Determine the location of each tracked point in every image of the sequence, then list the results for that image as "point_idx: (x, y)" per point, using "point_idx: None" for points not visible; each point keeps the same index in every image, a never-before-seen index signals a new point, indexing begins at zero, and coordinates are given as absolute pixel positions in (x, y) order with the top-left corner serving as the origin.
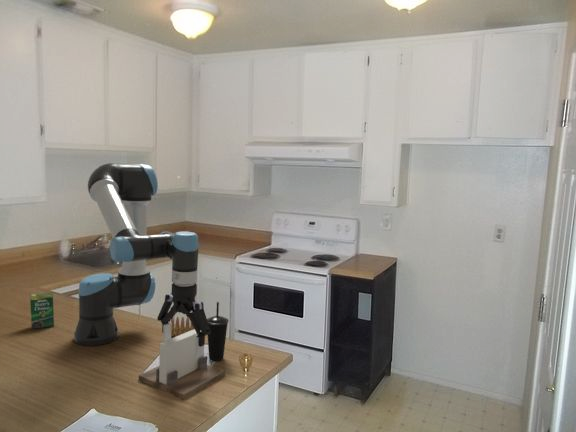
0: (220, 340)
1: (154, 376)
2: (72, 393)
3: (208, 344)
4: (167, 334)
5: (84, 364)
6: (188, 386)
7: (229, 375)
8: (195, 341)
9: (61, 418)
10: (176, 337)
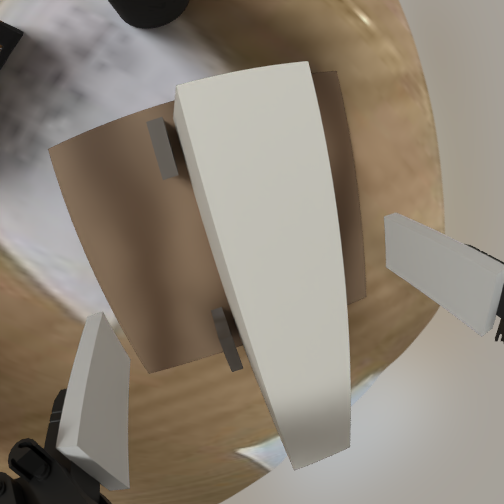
0: None
1: (189, 337)
2: (148, 465)
3: (127, 2)
4: (113, 394)
5: (4, 417)
6: None
7: (333, 57)
8: (454, 314)
9: (237, 477)
10: (287, 400)
